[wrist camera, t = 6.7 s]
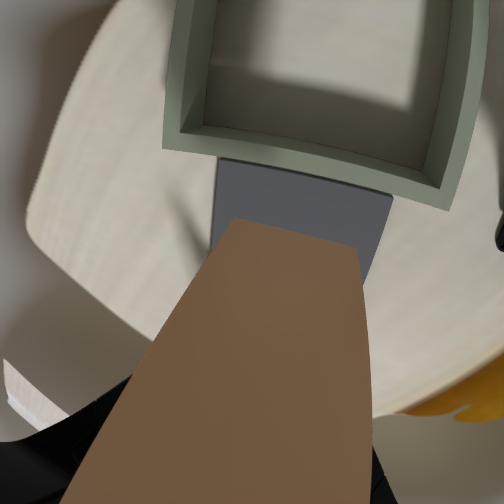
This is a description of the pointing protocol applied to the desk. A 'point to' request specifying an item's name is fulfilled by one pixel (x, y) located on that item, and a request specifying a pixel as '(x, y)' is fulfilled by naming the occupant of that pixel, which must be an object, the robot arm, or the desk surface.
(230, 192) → the rubber mat
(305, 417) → the box
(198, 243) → the desk surface
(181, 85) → the case
